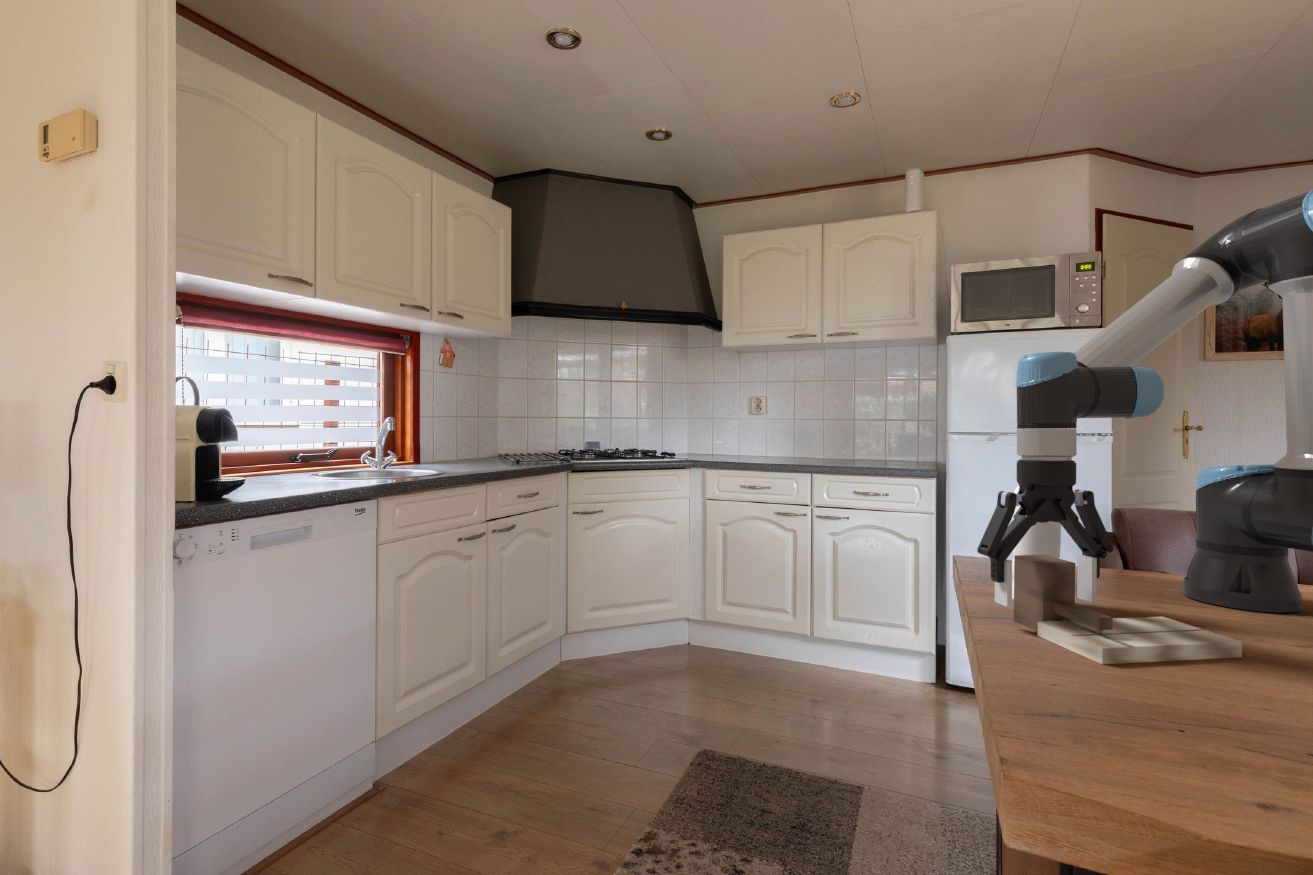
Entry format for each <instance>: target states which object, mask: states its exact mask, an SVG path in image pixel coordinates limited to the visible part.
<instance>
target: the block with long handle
mask: <svg viewBox="0 0 1313 875" xmlns="http://www.w3.org/2000/svg"><path fill="white" fill-rule="evenodd" d="M1113 619H1114V618H1113V617H1112V616H1109V615H1106V614H1105V613H1102V612H1098V611H1096V610H1094V609H1093V610H1092V609H1089V608H1087V607H1085V606H1084V607H1083V606H1082V605H1078V604H1076V562H1073V561H1069V560H1066V559H1062V558H1060V557H1059V558H1055V557H1051V556H1047V555H1015V558H1014V600H1013V622H1015V623H1017V624H1019V625H1021V626H1023V627H1026V628H1029V629H1031V630H1033V631H1035V632H1037V633H1038V622H1040V621H1061V620H1073V621H1076V622H1079V623H1081V624H1084V625H1087V626H1089V627H1092V628H1094V629H1096V633H1099V634H1102V630H1112V626H1113Z"/></svg>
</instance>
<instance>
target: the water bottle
mask: <svg viewBox="0 0 1313 875" xmlns="http://www.w3.org/2000/svg"><path fill="white" fill-rule="evenodd" d="M1020 459H1022V457H1020ZM1017 484H1018V483H1017ZM1018 491H1019V484H1018V486H1016V488H1015V489H1014V491H1013V493H1015V494H1017V493H1018ZM1020 507H1021V506H1020V505H1018V506H1016V508H1015V512H1014V514H1013V516H1014V515H1015V513H1016V512H1017V511H1018V509H1019V508H1020ZM1026 516H1027V515H1026ZM1013 519H1014V518H1013V517H1012V519H1011V522H1012V521H1013ZM1061 539H1062V525H1061V524H1060V523H1059V522H1052V521H1049V522H1046V523H1040V522H1037V523H1036V524H1035V525H1034V526H1031V527H1030V529H1029V530H1028V531H1027V533H1026V534H1025V535H1024V537H1023V538H1022V539H1021V541H1020V542H1019V543H1018V544H1017V546H1016V547H1015V548H1014V550H1013V551H1012V557H1013V558H1012V601H1014V558H1015V555H1047V556H1051V557H1055V558H1059V559H1060V556H1061V543H1062V540H1061Z"/></svg>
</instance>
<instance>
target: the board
mask: <svg viewBox="0 0 1313 875" xmlns="http://www.w3.org/2000/svg"><path fill="white" fill-rule="evenodd" d="M1037 637H1040V639H1041V638H1042V639H1044V640H1046V641H1048V642H1051V643H1053V644H1055V645H1057V646H1060V647H1061V648H1065V649H1067V650H1069V651H1071V652H1073V653H1075V654H1078V655H1080V656H1083V657H1084V658H1087V659H1089V660H1091V661H1094V662H1096V663H1098V664H1100V665H1117V664H1118V665H1119V664H1136V663H1137V664H1139V663H1157V662H1177V661H1179V662H1180V661H1193V660H1194V661H1196V660H1212V659H1215V660H1217V659H1232V658H1234V659H1235V658H1236V659H1237V658H1242V657H1243V656H1242V655H1243V641H1240V640H1237V639H1234V638H1231V637H1228V636H1225V635H1223V634H1222V635H1221V634H1219V633H1216V632H1213V631H1209V630H1207V629H1203V628H1200V627H1197V626H1194V625H1191V624H1187V623H1184V622H1181V621H1178V620H1175V619H1172V618H1168V617H1165V616H1146V617H1115V618H1113V626H1112V630H1102V634H1099V633H1096V629H1094V628H1092V627H1089V626H1087V625H1084V624H1081V623H1079V622H1076V621H1073V620H1061V621H1040V622H1038V632H1037Z"/></svg>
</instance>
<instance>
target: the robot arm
mask: <svg viewBox="0 0 1313 875" xmlns="http://www.w3.org/2000/svg"><path fill="white" fill-rule="evenodd" d="M1263 283H1267V284H1268V289H1269V290H1270V291H1272V292H1274V293H1275V294H1276V295H1279V296H1280V297H1281V299H1282V321H1283V322H1282V323H1283V328H1282V329H1283V359H1284V361H1283V362H1284V393H1285V394H1284V395H1285V397H1284V398H1285V426H1286V427H1285V428H1286V429H1285V431H1286V432H1285V434H1286V453H1285V455H1284V456H1283V457H1282V458H1280V459H1279V460H1277V461H1276V462H1275V463H1273V464H1272V463H1271V464H1268V463H1267V464H1242V465H1240V464H1239V465H1236V464H1235V465H1221V466H1219V465H1218V466H1210V467H1206V468H1204V469H1203V468H1202V470H1200V472H1199V473H1198V475H1197V483H1196V488H1195V525H1196V526H1195V552H1194V554H1193V557H1192V559H1191V561H1190V564H1189V566H1188V568H1187V572H1186V575H1185V577H1183V579H1182V586H1181V587H1182V588H1181V589H1182V590H1181V593H1182V594H1183V595H1184V596H1186V597H1188V598H1190V599H1194V600H1195V601H1200V602H1203V603H1207V604H1211V605H1215V606H1221V607H1225V608H1232V609H1239V610H1245V611H1254V612H1265V613H1266V612H1267V613H1298V612H1300V611H1303V592H1302V591H1300V589H1299V585H1298V583H1297V580H1296V576H1295V574H1294V572H1293V570H1292V569H1293V568H1292V567H1291V564H1290V562H1289V549H1291V550H1297V551H1301V552H1306V553H1312V554H1313V189H1311V190H1310V191H1306V192H1304V193H1302V194H1299V195H1296V196H1293V197H1291V198H1287V199H1284V200H1281V201H1279V202H1276V203H1273V204H1270V205H1268V206H1265V207H1261V208H1258V209H1255V210H1252V211H1250V212H1248V213H1245V214H1243V215H1241V216H1240V217H1238V218H1236V219H1234V220H1233V221H1231V222H1229V223H1228V224H1226V225H1225V226H1223V227H1222V228H1220V229H1219V230H1218V231H1216V232H1215V233H1214V234H1212V235H1211V236H1210V237H1208V238H1207V239H1206V240H1204V241H1203V242H1201V243H1200V244H1199V245H1198V246H1197V247H1195V249H1193V250H1191V251H1190V252H1189V253H1188V254H1187V255H1185V256H1184V257H1183V258H1182V259H1180V260H1179V261H1178V262H1177V263H1176V264H1175V265H1174V266H1173V268H1172V271H1171V275H1170V276H1169V277H1168V278H1166V279H1165V280H1164V281H1163V282H1161V283H1160V284H1159V285H1158V286H1156V287H1155V288H1154V289H1152V290H1151V291H1150V292H1149V293H1147V294H1146V295H1145V296H1144V297H1142V298H1141V299H1140V300H1139V301H1137V302H1136V303H1135V304H1134V305H1132V306H1131V307H1130V308H1129V309H1128V310H1126V311H1124V312H1123V313H1122V314H1121V315H1120V316H1118V317H1117V318H1116V319H1114V321H1112V322H1111V323H1109V324H1108V325H1107V326H1106V327H1105V328H1103V329H1102V330H1101V331H1100V332H1098V333H1097V334H1096V335H1095V336H1093V337H1092V338H1091V339H1090V340H1089V341H1087V342H1086V343H1085V344H1083V345H1082V346H1081V347H1080V348H1078V349H1076V351H1074V352H1072V351H1071V352H1070V351H1045V352H1043V351H1042V352H1035V353H1029V354H1025V355H1023V356H1022V357H1020V358H1019V360H1018V363H1017V370H1016V383H1015V387H1016V455H1018V456H1019V457H1020V456H1021V457H1022V459H1021V457H1020V458H1019V459H1018V460H1017V461H1016V482H1017V484H1019V491H1018V493H1017V494H1015V493H1014V492H1009V491H1004V490H1000V491H999V492H998V493H997V503H996V508H994V512H993V514H992V515H991V518H990V521H989V523H988V525H987V527H986V529H985V531H984V534H983V535H982V538H981V539H980V542H979V544H978V547H977V551H976V552H977V553H978V554H979V555H983V556H986V557H987V558H989V559H990V579H991V581H992V582H994V603H997V604H999V605H1001V606H1004V607H1007V608H1010V607H1013V599H1012V579H1013V577H1012V561H1011V560H1008V558H1009V557H1010V555H1011V554H1012V553H1013V550H1014V548H1015V547H1016V546H1017V544H1018V543H1019V542H1020V541H1021V539H1022V538H1023V537H1024V535H1025V534H1026V533H1027V531H1028V530H1029V529H1030V527H1031V526H1034V525H1035V524H1036V523H1037V522H1040V523H1046V522H1049V521H1052V522H1059V523H1060V524H1061V527H1062V528H1063V529H1064V530H1065V531H1066V533H1067V534H1068V536H1069V537H1070V538H1071V539H1072V540H1073V542H1074V543H1075V544H1076V546H1077V547H1078V548H1079V549H1080V551H1081V552H1082V553H1083V554H1077V576H1076V578H1077V587H1076V588H1077V592H1076V593H1077V594H1076V595H1077V599H1080V600H1083V601H1086V602H1089V603H1092V604H1093V603H1097V600H1098V599H1097V594H1098V593H1097V585H1098V584H1097V581H1098V579H1099V578H1100V575H1101V559H1106V558H1107V556H1108V553H1109V554H1110V553H1112V552H1114V548H1115V547H1114V546H1113V543H1112V540H1111V538H1110V536H1109V534H1108V532H1107V529H1106V527H1105V525H1104V523H1103V520H1102V518H1101V516H1100V514H1099V512H1098V509H1097V508H1096V503H1095V502H1096V501H1095V494H1094V492H1093V491H1092V490H1085V489H1075V490H1074V489H1073V487H1074V486H1075V485H1076V484H1077V462H1076V461H1075V460H1073V458H1075V457H1076V456H1077V455H1078V454H1077V451H1078V448H1077V446H1078V445H1077V442H1078V441H1077V426H1078V425H1077V424H1078V423H1077V422H1078V419H1111V418H1112V419H1114V418H1117V419H1118V418H1119V419H1120V418H1122V419H1133V418H1144V417H1148V416H1151V415H1152V414H1154V413H1156V411H1158V409H1159V408H1160V407H1161V406H1162V403H1163V401H1164V398H1165V385H1164V384H1165V383H1164V379H1163V378H1162V377H1161V375H1160V374H1159V373H1158V372H1157V371H1156V370H1155V369H1153V368H1150V367H1146V366H1134V365H1136V364H1137V363H1138V362H1140V361H1141V360H1142V359H1144V358H1145V357H1146V356H1148V355H1149V354H1150V353H1151V352H1152V351H1153V350H1155V349H1157V347H1158V346H1160V345H1161V344H1162V343H1164V342H1165V341H1167V340H1168V339H1169V338H1170V337H1171V336H1173V335H1175V333H1176V332H1178V331H1179V330H1181V329H1182V328H1183V327H1185V325H1187V324H1188V323H1190V322H1191V321H1192V320H1193V319H1194V318H1196V317H1197V316H1198V315H1199V314H1201V313H1202V312H1203V311H1205V310H1206V309H1207V308H1209V307H1210V306H1218V305H1221V304H1224V303H1225V302H1227V301H1228V300H1229V299H1230V298H1232V297H1233V296H1235V295H1236V294H1238V293H1240V292H1241V291H1244V290H1246V289H1249V288H1251V287H1255V286H1257V285H1261V284H1263ZM1073 504H1074V505H1075V506H1074V507H1075V509H1076V512H1077V513H1076V512H1075V511H1074V510H1073V508H1072V506H1073ZM1018 505H1020V506H1021V507H1020V508H1019V509H1018V511H1017V512H1016V513H1015V515H1014V516H1013V514H1014V512H1015V508H1016V506H1018ZM1077 514H1078V515H1077ZM1026 515H1027V516H1026ZM1013 518H1014V519H1013ZM1012 519H1013V521H1012ZM1079 519H1080V520H1079ZM1080 521H1081V522H1080Z"/></svg>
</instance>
